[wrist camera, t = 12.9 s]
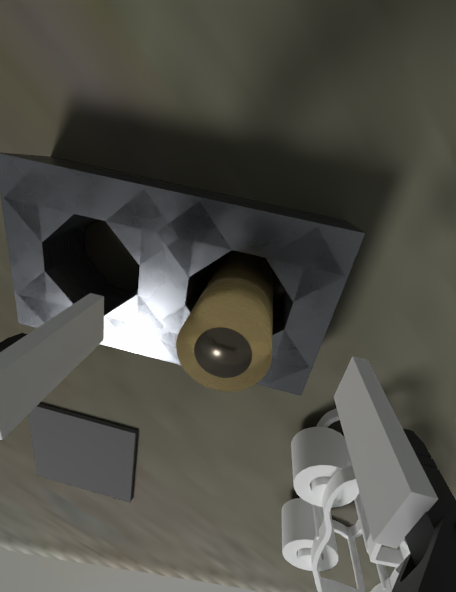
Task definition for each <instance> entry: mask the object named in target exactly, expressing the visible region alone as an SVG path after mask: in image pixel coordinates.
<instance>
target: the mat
mask: <svg viewBox="0 0 456 592" xmlns="http://www.w3.org/2000/svg"><path fill="white" fill-rule="evenodd" d="M28 418H29V425H30V431H31V438H32V445H33V452H34V458H35V465H36V472H37V476H41V477H44V478H47V479H51V480H54V481H58V482H61V483H65V484H68V485H71V486H75V487H78V488H82V489H85V490H89V491H92V492H95V493H99V494H102V495H106V496H109V497H113V498H116V499H119V500H123V501H126V502H131V500H132V491H133V478H134V465H135V453H136V440H137V430H135V429H131V428H127V427H124V426H120V425H116V424H113V423H109V422H106V421H102V420H98V419H95V418H91V417H87V416H84V415H80V414H76V413H73V412H69V411H65V410H62V409H58V408H55V407H51V406H47V405H44V404H40V403H39V404H38V405H37V406H36V407H35V408H34V409H33V410H32V411H31V412H30V413H29V414H28Z"/></svg>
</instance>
